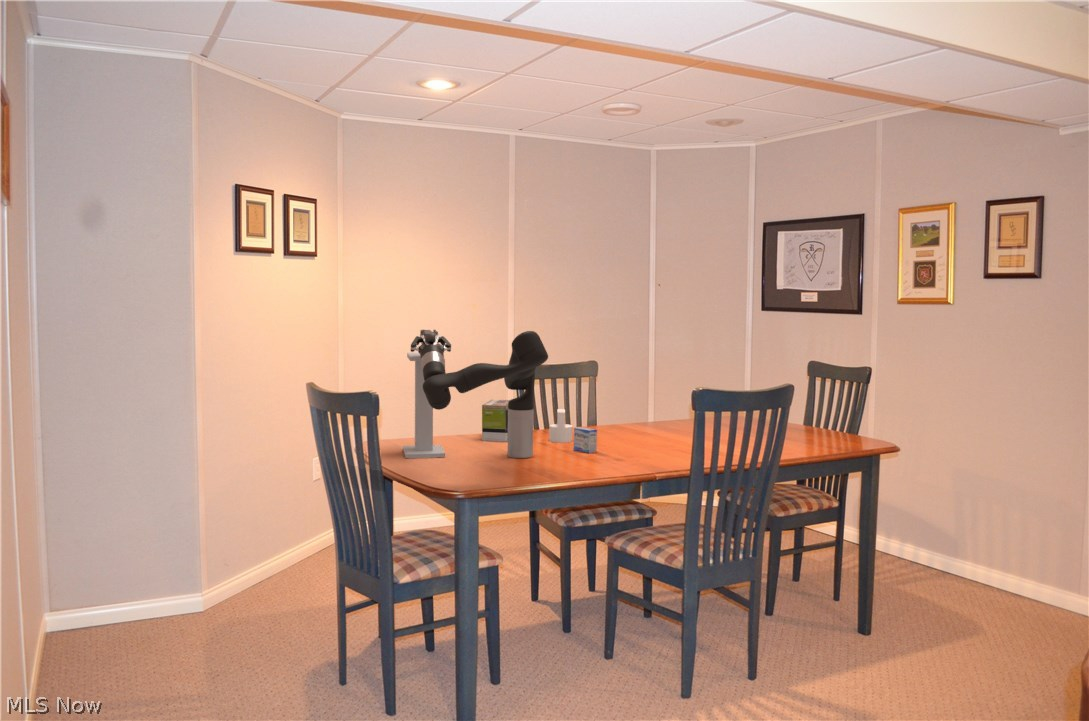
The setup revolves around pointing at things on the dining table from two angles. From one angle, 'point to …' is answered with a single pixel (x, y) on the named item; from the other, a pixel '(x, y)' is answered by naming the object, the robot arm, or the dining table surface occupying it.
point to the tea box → (495, 420)
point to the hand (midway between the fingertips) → (428, 332)
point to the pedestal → (422, 419)
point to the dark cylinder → (430, 336)
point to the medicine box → (585, 440)
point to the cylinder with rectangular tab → (560, 429)
